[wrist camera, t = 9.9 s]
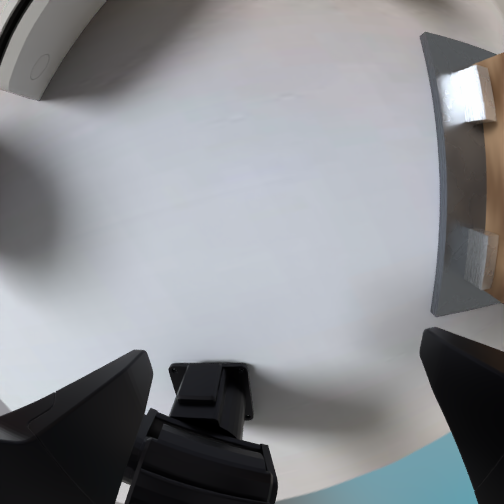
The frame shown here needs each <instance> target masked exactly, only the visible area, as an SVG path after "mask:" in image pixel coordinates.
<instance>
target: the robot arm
mask: <svg viewBox="0 0 504 504" xmlns="http://www.w3.org/2000/svg"><path fill="white" fill-rule="evenodd" d="M420 358H421V360H422V363H423V366H424V368H425V371H426V374H427V376H428V379H429V382H430V385H431V388H432V390H433V393H434V395H435V397H436V399H437V401H438V403H439V406H440V408H441V410H442V412H443V414H444V416H445V419H446V421H447V423H448V425H449V428H450V430H451V432H452V435H453V437H454V439H455V442H456V444H457V446H458V449H459V452H460V454H461V457H462V459H463V462H464V464H465V467H466V469H467V472H468V475H469V477H470V480H471V483H472V486H473V489H474V490H475V491H474V492H475V495H476V498H477V501H478V504H504V352H503V351H500V350H497V349H495V348H492V347H489V346H486V345H484V344H481V343H478V342H475V341H473V340H470V339H467V338H465V337H462V336H459V335H456V334H454V333H451V332H448V331H445V330H443V329H440V328H437V327H432V328H427V329H425V330H424V332H423V337H422V341H421V346H420ZM174 369H176V370H177V371H176V370H174ZM239 369H243V370H242V371H241V370H239ZM169 373H170V377H171V380H172V383H173V387H174V390H175V393H176V398H175V401H174V403H173V406H172V409H171V412H170V414H169V416H166V415H164V414H161V413H159V412H158V411H157V410H155V409H152V408H150V410H149V412H148V414H147V415H145V414H144V413H145V409H146V405H147V401H148V396H149V392H150V387H151V383H152V379H153V370H152V366H151V363H150V360H149V357H148V354H147V352H146V351H145V350H132V351H131V352H129V353H127V354H125V355H123V356H121V357H120V358H118V359H116V360H114V361H112V362H110V363H109V364H107V365H105V366H103V367H101V368H99V369H97V370H96V371H94V372H92V373H90V374H88V375H86V376H84V377H82V378H81V379H79V380H77V381H75V382H73V383H71V384H69V385H67V386H65V387H63V388H62V389H60V390H58V391H56V393H55V392H54V393H52V394H50V395H48V396H46V397H44V398H42V399H40V400H38V401H36V402H34V403H31V404H29V405H27V406H24V407H22V408H20V409H17V410H15V411H12V412H10V413H7V414H5V415H2V416H0V504H115V501H116V498H117V495H118V492H119V488H120V485H121V482H124V483H126V484H129V485H131V486H130V489H129V492H128V495H127V498H126V501H125V504H274V503H275V501H276V496H277V490H278V481H277V476H276V472H275V469H274V465H273V462H272V458H271V454H270V451H269V447H268V445H265V444H260V445H259V444H255V443H251V442H247V441H243V440H242V437H243V426H244V420H252V419H253V415H254V413H253V405H252V398H251V390H250V382H249V374H248V367H247V366H246V365H245V364H243V363H230V364H219V363H211V364H195V363H190V364H177V363H174V364H171V365H170V367H169ZM247 415H249V416H247Z"/></svg>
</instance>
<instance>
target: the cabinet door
mask: <svg viewBox="0 0 504 504" xmlns="http://www.w3.org/2000/svg"><path fill="white" fill-rule="evenodd" d="M474 65H479V66H482V67H485V68H487V69H488V73H489V77H490V82H491V87H492V92H493V98H494V104H495V111H496V118H497V121H496V122H488V123H483V129H484V139H485V152H486V174H487V203H486V225H485V230H487V231H489V232H492V233H494V234H497V235H499V239H498V249H497V257H496V265H495V271H494V278H493V283H492V288H490V289H485V290H484V291H485V292H487V293H488V294H490V295H491V296H493V297H494V298H496V299H497V300H498V301H500V302H501V303H503V304H504V53H501V54H498V55H496V56H493V57H491V58H488V59H485V60H483V61H480V62H478V63H475V64H473V66H474Z"/></svg>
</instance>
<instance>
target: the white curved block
mask: <svg viewBox="0 0 504 504" xmlns="http://www.w3.org/2000/svg"><path fill="white" fill-rule="evenodd" d="M106 1H107V0H8V2H7V3H6V5H5V7H4V8H3V10H2V12H1V14H0V90H3V91H6V92H10V93H13V94H16V95H19V96H23V97H26V98H29V99H33V100H37V101H39V100H40V99H41V97H42V95H43V93H44V91H45V89H46V87H47V86H48V84H49V82H50V80H51V79H52V77H53V75H54V73H55V72H56V70H57V68H58V67H59V65H60V64H61V62H62V60H63V59H64V57H65V56H66V54H67V53H68V51H69V50H70V48H71V47H72V45H73V44H74V42H75V41H76V40H77V38H78V37H79V35H80V34H81V33H82V31H83V30H84V29H85V27H86V26H87V25H88V23H89V22H90V21H91V19H92V18H93V17H94V16H95V14H96V13H97V12H98V11H99V9H100V8H101V7H102V6H103V5H104V3H105V2H106Z"/></svg>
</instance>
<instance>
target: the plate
mask: <svg viewBox="0 0 504 504" xmlns="http://www.w3.org/2000/svg"><path fill="white" fill-rule="evenodd" d="M420 40H421V44H422V48H423V52H424V56H425V61H426V65H427V70H428V75H429V81H430V86H431V92H432V98H433V105H434V112H435V121H436V130H437V140H438V153H439V173H440V223H439V243H438V256H437V267H436V276H435V285H434V292H433V299H432V306H431V313H432V314H433V315H434V316H435V317H439V316H444V315H449V314H454V313H459V312H463V311H468V310H472V309H477V308H481V307H485V306H489V305H493V304H497V303H501V302H500V301H498V300H497V299H496V298H494V297H493V296H491V295H490V294H488V293H487V292H485V291H484V290H485V289H490V288H492V283H493V278H494V271H495V265H496V257H497V249H498V239H499V235H497V234H494V233H492V232H489V231H487V230H485V225H486V203H487V174H486V152H485V139H484V129H483V123H488V122H496V121H497V118H496V111H495V104H494V98H493V92H492V87H491V82H490V77H489V73H488V69H487V68H485V67H482V66H479V65H474V66H473V64H475V63H478V62H480V61H483V60H485V59H488V58H491V57H493V56H496V55H497V54H494V53H492V52H489V51H486V50H484V49H481V48H478V47H475V46H473V45H470V44H467V43H464V42H460V41H457V40H454V39H450V38H447V37H443V36H440V35H436V34H432V33H428V32H424V33H423V34H422V35H421V36H420Z"/></svg>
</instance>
